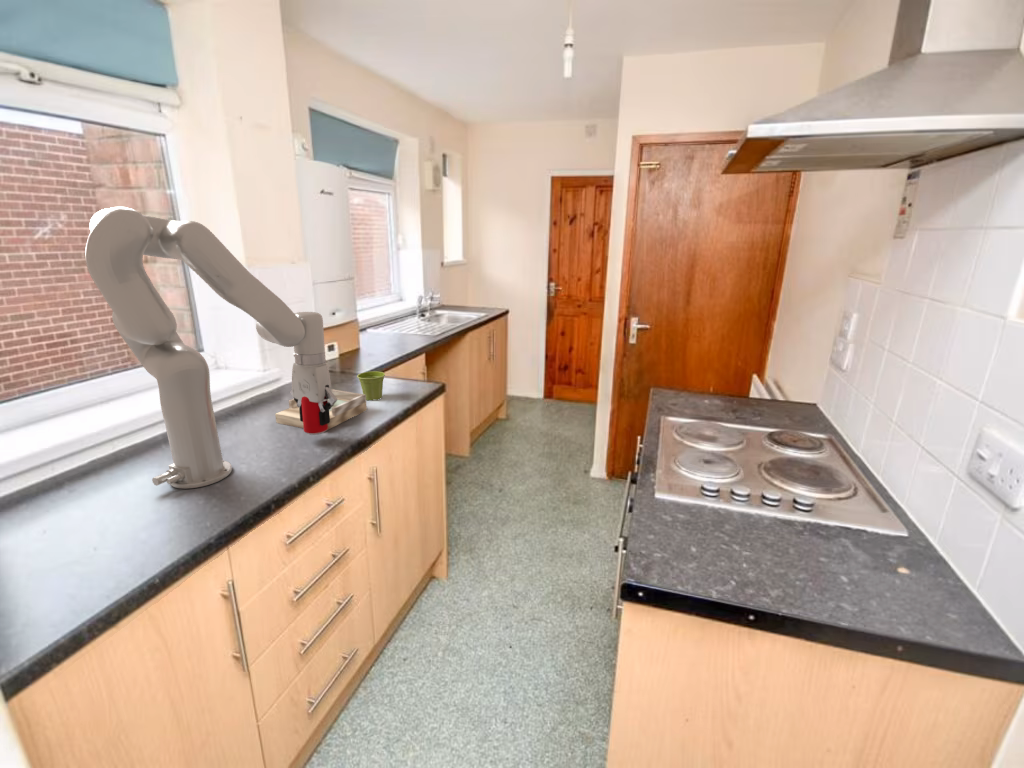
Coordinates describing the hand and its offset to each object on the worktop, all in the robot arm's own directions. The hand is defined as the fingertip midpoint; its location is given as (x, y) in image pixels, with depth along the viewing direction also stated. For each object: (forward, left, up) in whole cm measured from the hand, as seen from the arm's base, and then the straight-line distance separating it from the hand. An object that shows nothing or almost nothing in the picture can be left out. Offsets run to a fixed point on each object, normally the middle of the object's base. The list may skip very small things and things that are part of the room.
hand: (315, 421), depth 131 cm
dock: (+15, +12, -6) cm, 20 cm away
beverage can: (0, 0, -3) cm, 3 cm away
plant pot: (+36, +9, -6) cm, 38 cm away
